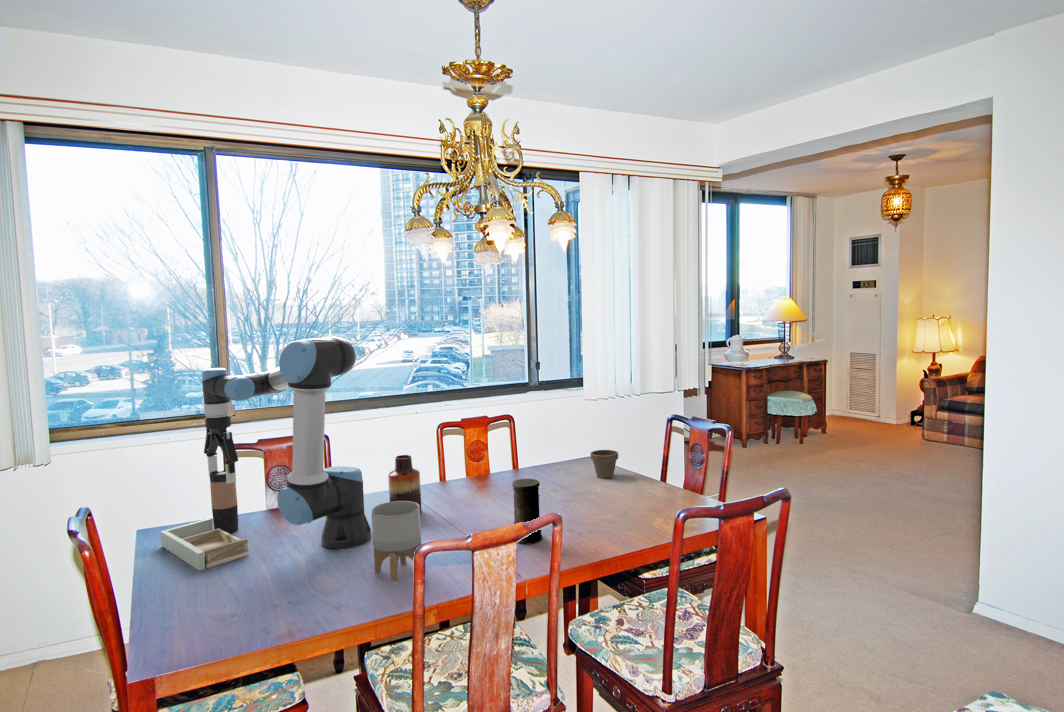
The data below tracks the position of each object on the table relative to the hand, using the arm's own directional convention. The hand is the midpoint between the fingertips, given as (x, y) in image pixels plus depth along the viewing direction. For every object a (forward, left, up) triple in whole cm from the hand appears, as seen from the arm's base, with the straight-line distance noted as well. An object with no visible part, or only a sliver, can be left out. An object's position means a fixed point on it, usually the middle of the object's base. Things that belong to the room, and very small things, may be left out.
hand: (222, 479), depth 213 cm
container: (-85, -55, -18) cm, 103 cm away
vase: (-35, -47, -18) cm, 61 cm away
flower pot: (-65, -125, -18) cm, 142 cm away
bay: (-12, +11, -18) cm, 24 cm away
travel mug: (0, 0, -18) cm, 18 cm away
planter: (-72, -16, -18) cm, 76 cm away
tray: (-17, +11, -18) cm, 27 cm away
